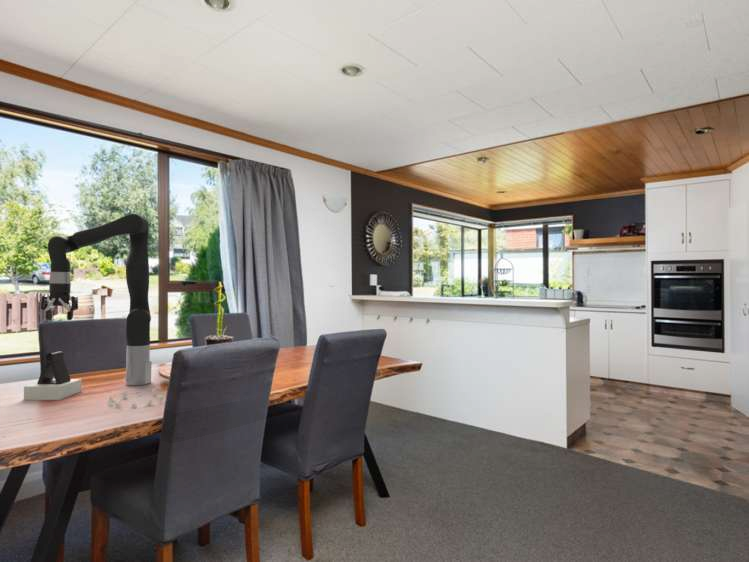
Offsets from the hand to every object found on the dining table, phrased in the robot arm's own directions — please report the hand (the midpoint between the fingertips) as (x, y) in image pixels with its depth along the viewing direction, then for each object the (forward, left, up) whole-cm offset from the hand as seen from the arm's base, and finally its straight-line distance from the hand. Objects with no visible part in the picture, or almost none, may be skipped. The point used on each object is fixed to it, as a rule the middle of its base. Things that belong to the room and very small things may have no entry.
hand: (59, 319), depth 196 cm
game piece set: (-46, +26, -29) cm, 60 cm away
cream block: (-10, +18, -28) cm, 35 cm away
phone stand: (-10, +18, -23) cm, 31 cm away
